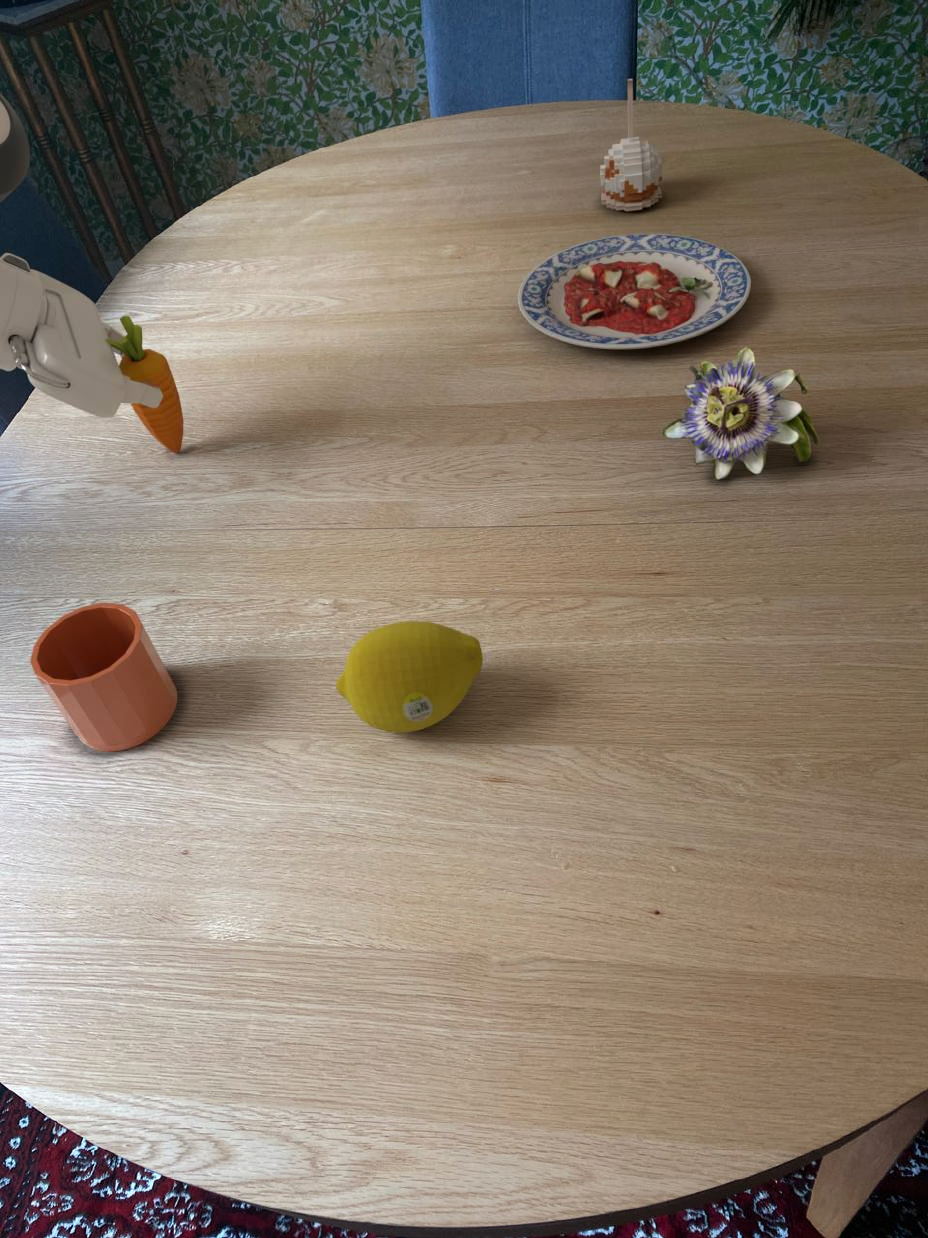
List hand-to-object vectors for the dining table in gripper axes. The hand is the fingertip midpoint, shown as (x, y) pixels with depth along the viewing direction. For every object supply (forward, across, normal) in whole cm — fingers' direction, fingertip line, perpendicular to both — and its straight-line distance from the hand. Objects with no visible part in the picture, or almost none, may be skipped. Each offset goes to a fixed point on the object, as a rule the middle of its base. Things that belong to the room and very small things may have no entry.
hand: (149, 375), depth 97 cm
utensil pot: (-2, -34, +14) cm, 37 cm away
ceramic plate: (+44, -3, -31) cm, 54 cm away
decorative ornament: (+54, +20, -40) cm, 70 cm away
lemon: (+12, -46, 0) cm, 47 cm away
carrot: (+6, 0, +7) cm, 9 cm away
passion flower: (+39, -32, -27) cm, 58 cm away
